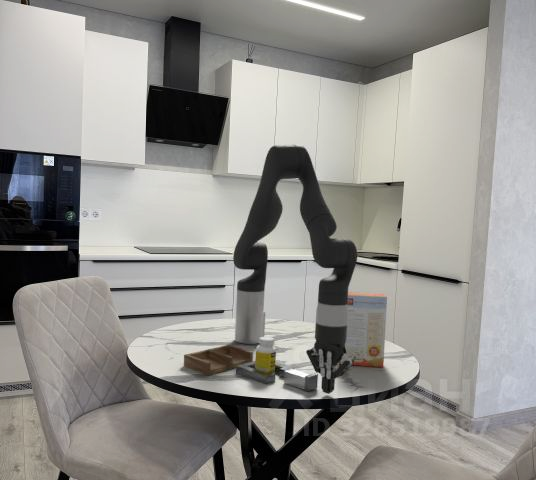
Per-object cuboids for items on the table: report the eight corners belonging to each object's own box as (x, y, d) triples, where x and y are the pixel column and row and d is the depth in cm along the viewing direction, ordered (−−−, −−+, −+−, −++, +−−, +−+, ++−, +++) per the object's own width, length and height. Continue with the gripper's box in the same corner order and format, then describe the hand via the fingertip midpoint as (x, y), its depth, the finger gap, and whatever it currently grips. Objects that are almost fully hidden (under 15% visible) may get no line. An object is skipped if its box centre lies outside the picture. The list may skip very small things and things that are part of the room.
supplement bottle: (272, 378, 132) (274, 341, 131) (252, 376, 133) (254, 339, 132) (276, 372, 137) (278, 336, 137) (257, 370, 138) (258, 335, 138)
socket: (263, 365, 143) (264, 358, 143) (293, 375, 136) (293, 367, 135) (235, 373, 135) (236, 365, 135) (265, 384, 127) (266, 376, 127)
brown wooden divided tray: (228, 355, 151) (229, 344, 151) (252, 362, 145) (253, 352, 144) (183, 366, 139) (184, 354, 139) (207, 375, 132) (207, 363, 132)
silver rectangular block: (291, 379, 131) (292, 366, 131) (317, 388, 126) (317, 374, 125) (282, 382, 128) (283, 368, 128) (308, 391, 123) (309, 377, 123)
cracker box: (381, 362, 152) (385, 293, 150) (383, 368, 146) (388, 296, 144) (334, 358, 153) (338, 290, 152) (334, 364, 147) (338, 293, 146)
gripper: (363, 324, 119) (359, 396, 120) (318, 314, 128) (314, 381, 129) (346, 329, 113) (341, 404, 114) (300, 318, 122) (296, 388, 123)
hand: (327, 392), depth 121 cm, fingers closed
